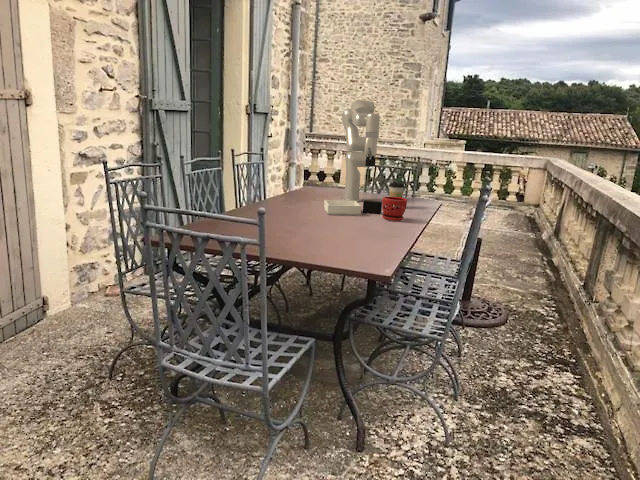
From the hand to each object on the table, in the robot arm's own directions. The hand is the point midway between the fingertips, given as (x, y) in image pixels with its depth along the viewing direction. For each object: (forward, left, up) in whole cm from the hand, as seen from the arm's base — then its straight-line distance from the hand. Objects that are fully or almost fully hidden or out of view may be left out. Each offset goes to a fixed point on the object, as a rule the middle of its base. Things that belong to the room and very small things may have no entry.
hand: (370, 166), depth 279 cm
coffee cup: (-15, +21, -27) cm, 37 cm away
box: (+6, -16, -26) cm, 32 cm away
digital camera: (+6, +2, -27) cm, 27 cm away
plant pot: (+22, +10, -27) cm, 36 cm away
